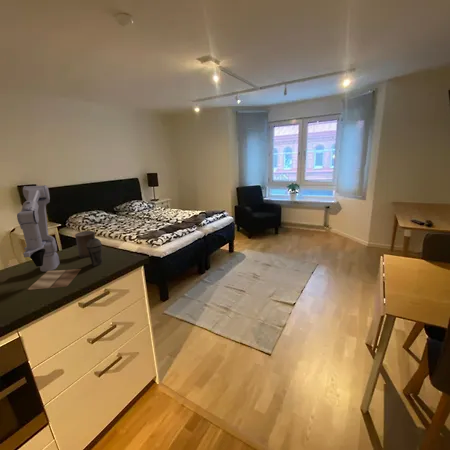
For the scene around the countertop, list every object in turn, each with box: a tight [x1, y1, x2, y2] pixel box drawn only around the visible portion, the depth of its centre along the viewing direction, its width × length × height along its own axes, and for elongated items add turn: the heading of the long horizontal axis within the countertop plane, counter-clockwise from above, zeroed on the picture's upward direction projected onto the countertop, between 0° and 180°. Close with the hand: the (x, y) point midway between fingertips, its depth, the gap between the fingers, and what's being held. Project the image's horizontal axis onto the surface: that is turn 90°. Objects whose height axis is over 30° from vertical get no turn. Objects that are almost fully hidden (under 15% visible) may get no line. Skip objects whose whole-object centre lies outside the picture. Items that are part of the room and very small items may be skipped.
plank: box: [26, 269, 67, 291], centre depth 117 cm, size 18×8×1 cm, turn 10°
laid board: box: [49, 268, 82, 289], centre depth 118 cm, size 18×7×1 cm, turn 10°
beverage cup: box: [87, 229, 103, 267], centre depth 131 cm, size 7×7×20 cm
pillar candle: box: [74, 230, 94, 259], centre depth 146 cm, size 10×10×15 cm
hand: (39, 265), depth 113 cm, fingers closed
